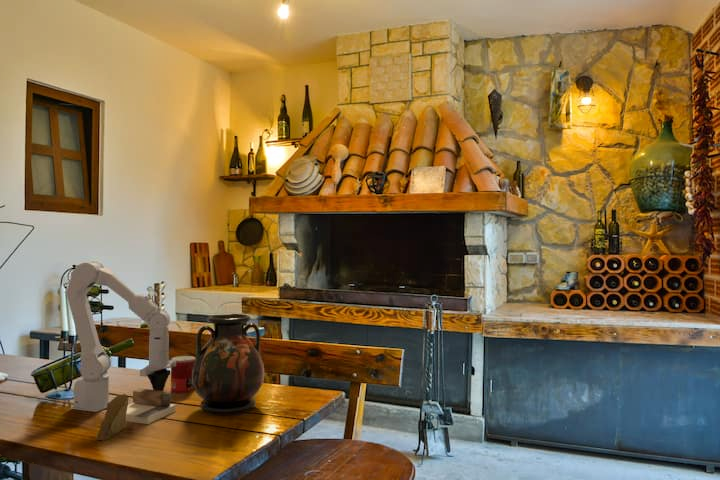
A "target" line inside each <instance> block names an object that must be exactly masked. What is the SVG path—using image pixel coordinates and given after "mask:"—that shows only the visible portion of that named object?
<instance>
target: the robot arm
mask: <svg viewBox="0 0 720 480" xmlns="http://www.w3.org/2000/svg"><path fill="white" fill-rule="evenodd" d="M68 282H69V283H68V286H67V288H66V298H67V301H68V302H67V303H68V305H69V308H70V312H71V313H70V314H71V316H72V319H73V323H74V328H75V331H76V334H77V338H78V341H79V345H80V349H81V351H80V352H81V353H80V356H79V357H80V358H79V359H80V363H81V364H80V367H79V368H80V370H79V371H80V375H81V377H79V378H78V379H77V380H76V381H75V383H74V384H73V406H71V410H78V411H86V412H92V413H96V412H100V411H103V410H105V409H107V404H108V403H109V399H110V398H109V395H110V394H109V393H110V392H109V391H110V390H109V387H110V384H109V383H110V380H109V379H110V374H109V373H108V370H110V368H111V365H112V361H111V358H110V356H109V355H108V354H107V353H106V351H105V348H104V347H103V345H102V344H101V343H100V339H99V338H100V337H99V335H98V331H97V329H96V328H97V327H96V324H95V321H94V317H93V313H92V310H91V306H90V301H89V298H88V296H87V295H88V294H89V292H90V291H91V289H92V288H93V286H95V285H96V286H97V285H98V286H105V287H108V288H109V289H110V290H111V291H113V292H114V293H115V294H117V295H118V296H119V297H121V298H122V299H123V300H125V302H127V303H128V309H129V310H130V311H131V312H133V314H135V315H136V317H138V318H140V319H141V320H142V321H143V322H145V323H146V325H147V327H148V329H149V336H148V337H149V339H148V344H149V345H148V365H147V366H145V367H143V368H141V369H139V376H140V377H147V379H149V381H150V384H151V386H152V387H151V388H152V390H158V391H165V390H164V389H165V387H166V383H167V380H168V378H169V376H171V367H175V366H176V360H171V359H169V352H170V351H169V350H170V346H169V345H170V343H169V342H170V341H169V340H170V335H169V331H170V330H169V327H168V326H169V325H170V324H171V323H170V322H171V317H170V315H169V313H168V312H167V311H166V310H164V309H162V307H161V306H157V305H156V304H155V303H154V302H153V301H151V300H150V299H151V297H150V296H148V295H144V294H136V293H135V292H134V291H133V290H132V289H131V288H130V287H128V286H127V285H126V284H125V282H123V281H122V279H120V278H119V277H118V276H117V275H116V274H114V273H113V272H112V271H111V270H110V269H109V268H108V267H106V266H104V265H103V263H101V262H98V261H90V262H82V263H79V264H78V265H76V267H75V268H74V269H73V270H72V271H71V272H70V280H69V281H68Z"/></svg>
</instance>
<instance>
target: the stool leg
mask: <svg viewBox="0 0 720 480" xmlns="http://www.w3.org/2000/svg"><path fill="white" fill-rule="evenodd" d="M171 392H172V391H171ZM171 392H170V391H165V390H163V391H158V390H153V389H149V388H138V389H135V390H132V403H139V404H148V405H156V406H169V405H171V404H172V403H171V402H172V401H171V397H172V395H171V394H172V393H171Z"/></svg>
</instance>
